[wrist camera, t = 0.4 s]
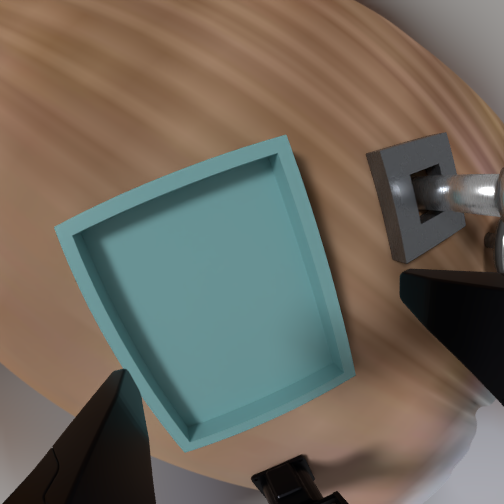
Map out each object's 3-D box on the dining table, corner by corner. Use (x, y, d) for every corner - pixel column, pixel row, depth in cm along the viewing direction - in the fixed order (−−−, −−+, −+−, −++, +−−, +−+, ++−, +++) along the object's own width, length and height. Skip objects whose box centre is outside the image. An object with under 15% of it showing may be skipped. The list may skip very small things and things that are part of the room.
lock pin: (433, 207, 27) (532, 216, 15) (406, 221, 26) (513, 236, 14) (424, 165, 26) (525, 161, 14) (396, 176, 25) (506, 172, 13)
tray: (339, 360, 26) (355, 375, 23) (181, 430, 23) (184, 452, 20) (271, 142, 21) (286, 134, 19) (68, 223, 19) (53, 227, 16)
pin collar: (452, 224, 28) (465, 225, 26) (392, 259, 26) (406, 263, 24) (432, 134, 25) (446, 132, 23) (365, 153, 24) (379, 151, 22)
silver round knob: (502, 256, 32) (527, 262, 27) (474, 282, 31) (503, 292, 26) (497, 199, 30) (525, 202, 25) (469, 219, 29) (501, 223, 24)
